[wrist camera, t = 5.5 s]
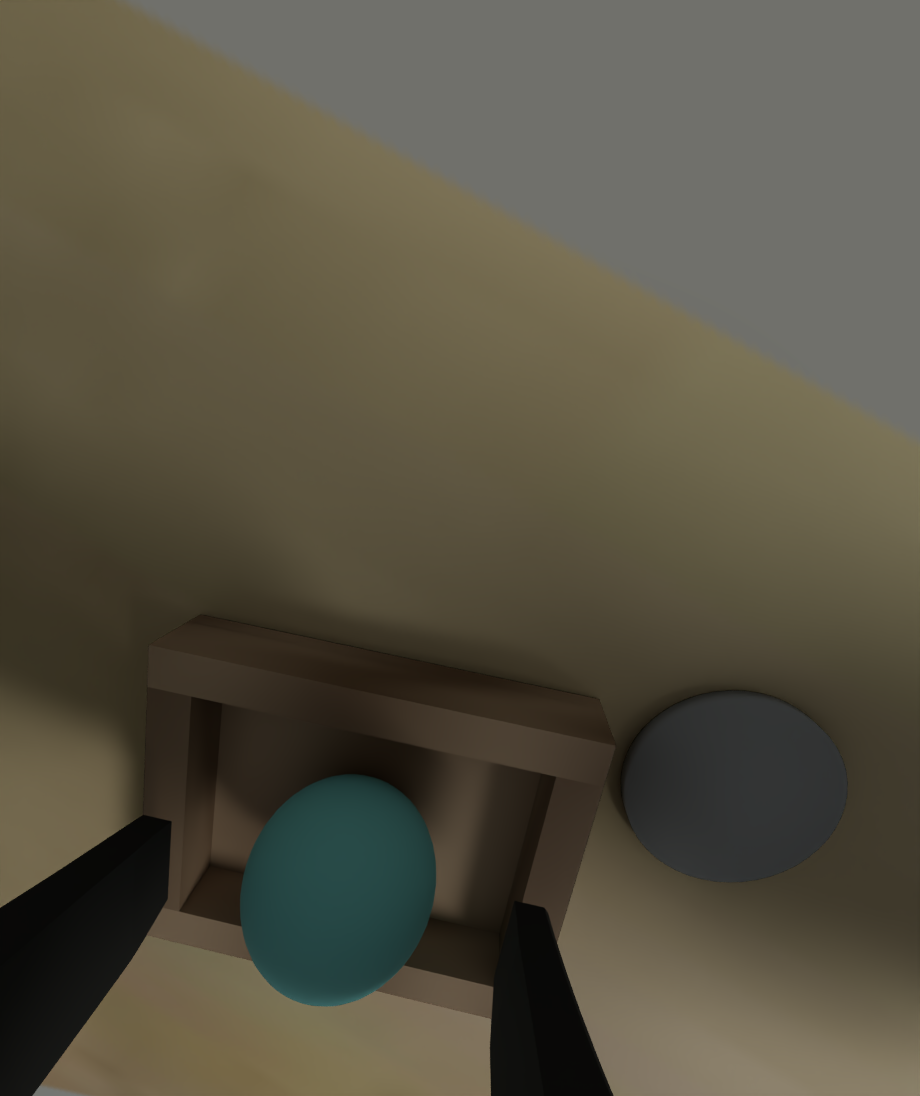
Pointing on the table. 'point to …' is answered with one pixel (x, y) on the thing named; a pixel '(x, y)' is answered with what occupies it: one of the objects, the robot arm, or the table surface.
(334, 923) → the ball
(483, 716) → the tray
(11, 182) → the table surface
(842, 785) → the coaster
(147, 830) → the robot arm
